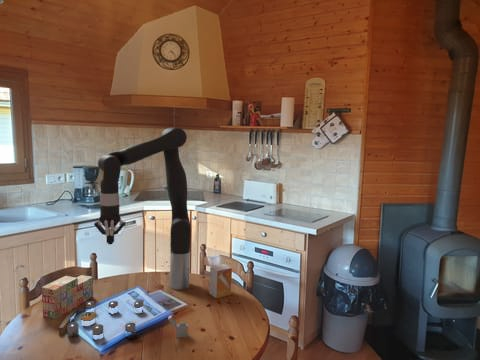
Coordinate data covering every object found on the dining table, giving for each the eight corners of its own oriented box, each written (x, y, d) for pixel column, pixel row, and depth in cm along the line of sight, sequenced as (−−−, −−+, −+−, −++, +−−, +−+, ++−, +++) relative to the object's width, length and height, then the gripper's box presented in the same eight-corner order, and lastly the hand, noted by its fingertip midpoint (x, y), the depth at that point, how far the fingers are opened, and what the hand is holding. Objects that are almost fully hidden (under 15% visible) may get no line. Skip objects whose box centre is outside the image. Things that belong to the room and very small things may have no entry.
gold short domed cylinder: (96, 320, 144) (96, 311, 143) (93, 326, 139) (92, 317, 138) (83, 320, 143) (83, 311, 143) (79, 326, 138) (79, 317, 138)
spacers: (143, 309, 153) (143, 300, 153) (134, 339, 131) (134, 329, 131) (84, 310, 151) (84, 300, 150) (64, 340, 129) (64, 330, 128)
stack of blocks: (81, 294, 165) (81, 268, 163) (93, 297, 163) (93, 270, 161) (42, 316, 145) (41, 286, 143) (55, 319, 143) (54, 289, 141)
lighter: (187, 334, 136) (188, 314, 135) (187, 337, 134) (188, 316, 133) (167, 335, 135) (168, 314, 134) (167, 338, 133) (168, 317, 132)
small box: (216, 298, 166) (217, 270, 164) (208, 293, 171) (209, 266, 169) (231, 294, 171) (232, 267, 169) (223, 289, 176) (224, 263, 174)
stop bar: (77, 313, 148) (77, 307, 147) (63, 334, 133) (63, 327, 132) (73, 313, 147) (73, 307, 147) (58, 334, 133) (58, 327, 132)
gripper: (127, 201, 158) (128, 241, 160) (95, 201, 156) (96, 241, 159) (124, 205, 151) (125, 246, 153) (90, 205, 149) (91, 246, 151)
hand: (110, 243), depth 156 cm, fingers closed
